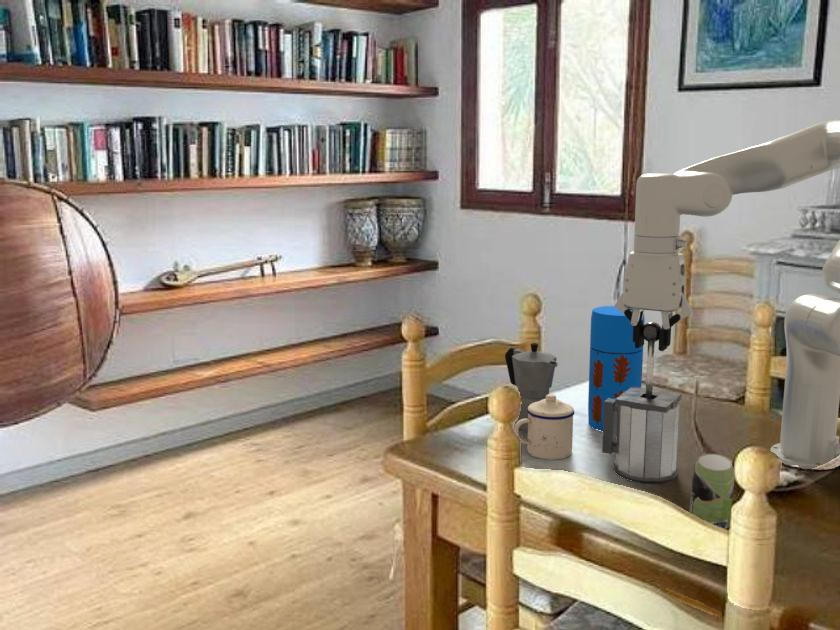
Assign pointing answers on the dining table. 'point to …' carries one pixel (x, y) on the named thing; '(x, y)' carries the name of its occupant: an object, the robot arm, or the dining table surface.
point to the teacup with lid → (549, 428)
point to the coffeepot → (530, 376)
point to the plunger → (650, 353)
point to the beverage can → (712, 489)
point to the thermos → (611, 360)
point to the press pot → (642, 434)
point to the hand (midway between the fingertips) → (651, 347)
